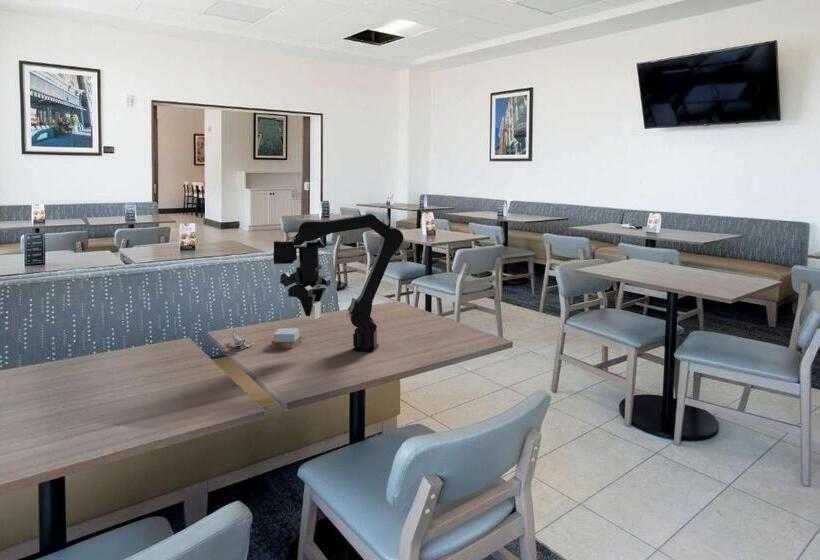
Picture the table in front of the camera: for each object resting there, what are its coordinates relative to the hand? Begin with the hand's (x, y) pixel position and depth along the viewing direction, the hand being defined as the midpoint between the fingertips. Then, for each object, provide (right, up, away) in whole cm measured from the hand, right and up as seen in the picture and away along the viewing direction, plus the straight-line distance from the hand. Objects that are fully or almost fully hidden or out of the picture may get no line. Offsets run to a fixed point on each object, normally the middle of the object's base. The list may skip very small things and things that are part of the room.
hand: (311, 314), depth 175 cm
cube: (0, -1, 0) cm, 1 cm away
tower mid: (-9, -8, +10) cm, 16 cm away
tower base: (-9, -11, +10) cm, 18 cm away
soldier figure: (-24, -11, +9) cm, 28 cm away
